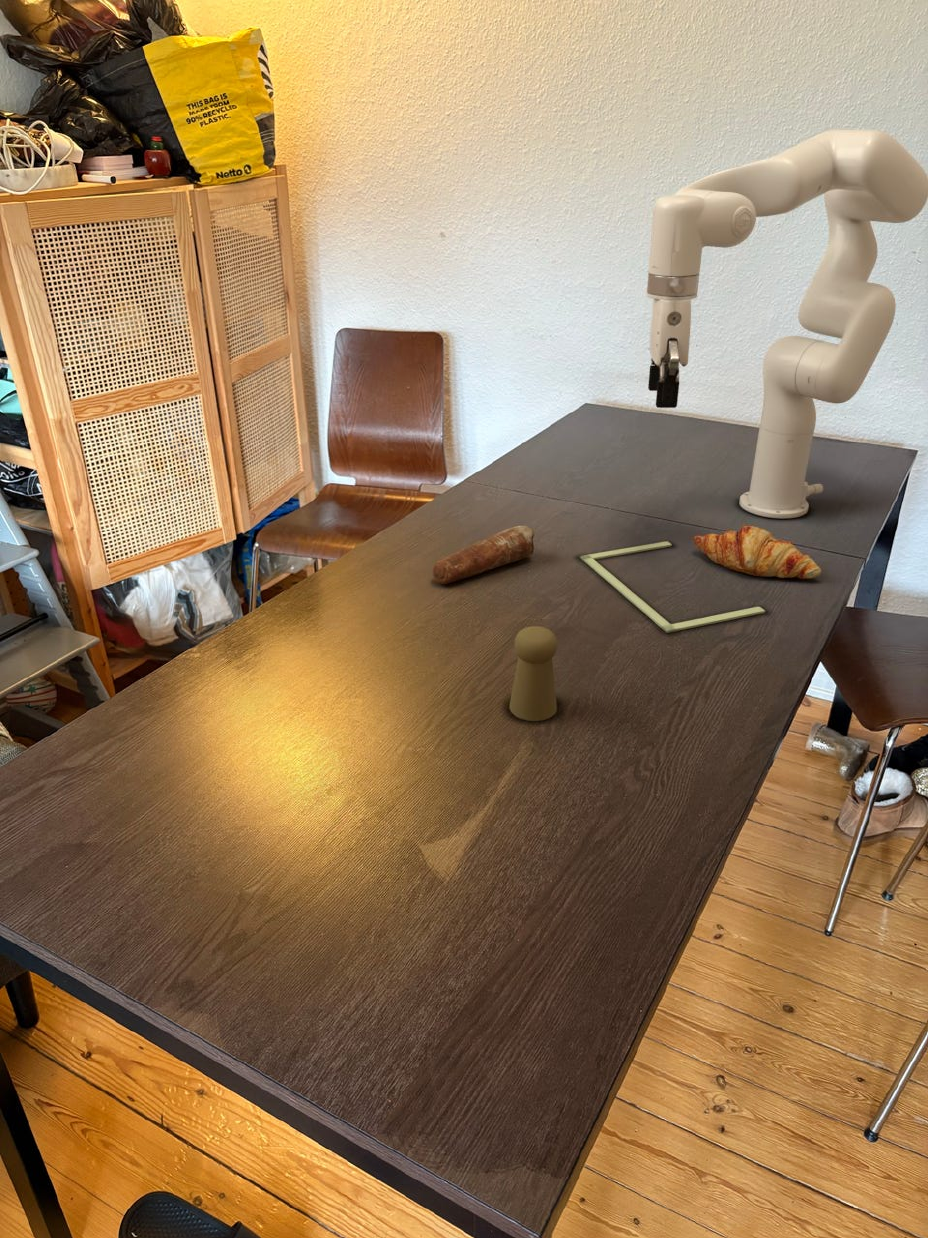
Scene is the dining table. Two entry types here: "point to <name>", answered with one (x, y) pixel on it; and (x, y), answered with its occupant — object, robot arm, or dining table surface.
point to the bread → (486, 555)
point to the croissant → (757, 554)
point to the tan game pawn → (534, 675)
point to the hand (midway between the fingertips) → (661, 398)
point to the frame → (647, 609)
